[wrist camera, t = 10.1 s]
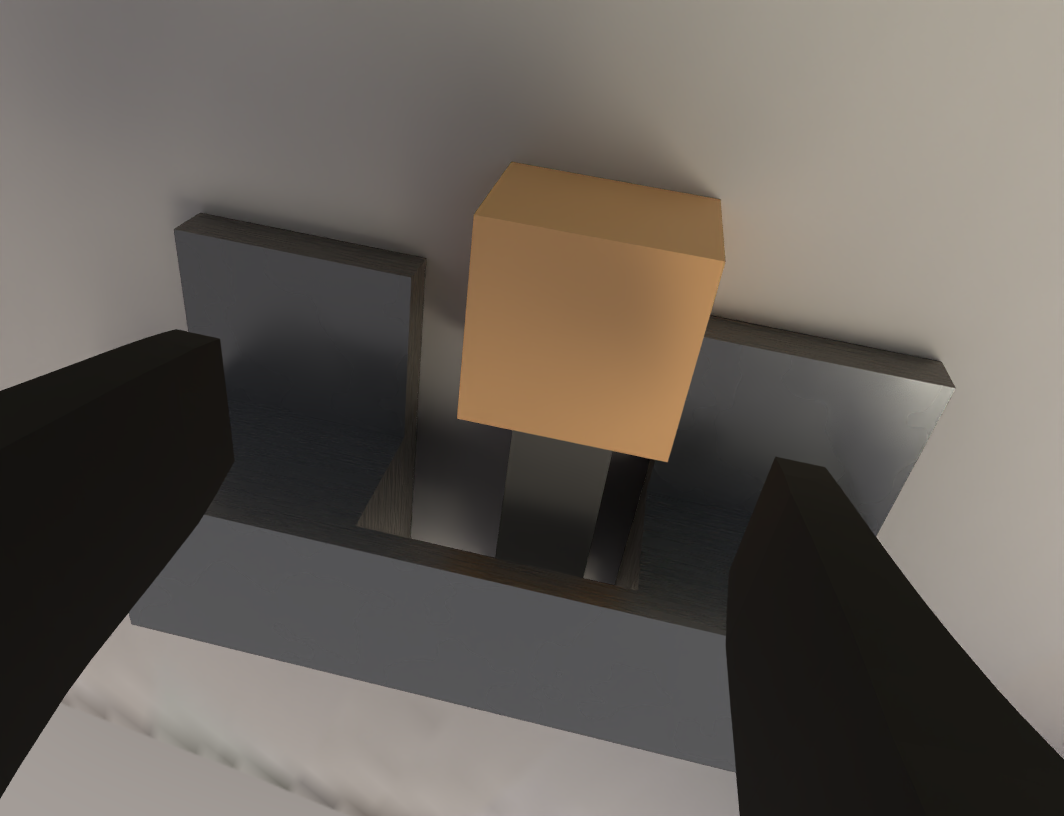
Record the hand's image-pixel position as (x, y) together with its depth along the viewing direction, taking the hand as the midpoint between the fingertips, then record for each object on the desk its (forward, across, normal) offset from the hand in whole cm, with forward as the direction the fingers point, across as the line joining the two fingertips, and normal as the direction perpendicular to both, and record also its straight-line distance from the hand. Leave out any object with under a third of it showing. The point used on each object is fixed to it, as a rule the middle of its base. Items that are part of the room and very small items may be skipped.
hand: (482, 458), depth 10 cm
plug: (+7, -1, +4) cm, 8 cm away
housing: (+7, 0, +6) cm, 9 cm away
